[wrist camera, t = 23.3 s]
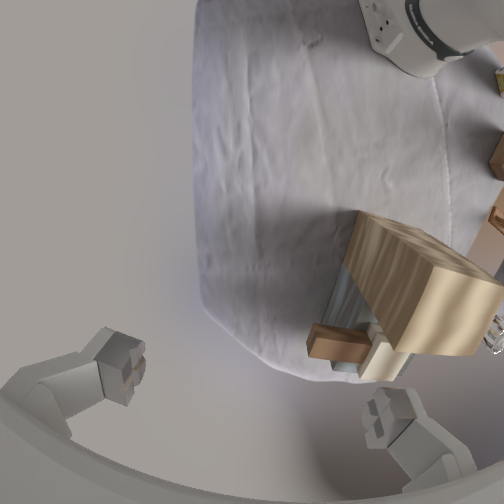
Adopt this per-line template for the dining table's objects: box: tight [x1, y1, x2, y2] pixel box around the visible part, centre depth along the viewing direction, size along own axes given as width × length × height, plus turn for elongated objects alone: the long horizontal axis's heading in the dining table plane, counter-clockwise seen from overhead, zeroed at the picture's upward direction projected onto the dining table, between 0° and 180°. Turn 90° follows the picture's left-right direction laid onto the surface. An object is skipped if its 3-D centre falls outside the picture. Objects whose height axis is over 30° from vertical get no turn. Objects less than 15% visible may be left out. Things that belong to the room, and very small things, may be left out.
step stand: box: [321, 210, 504, 376], centre depth 38 cm, size 14×24×26 cm, turn 168°
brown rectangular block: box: [306, 322, 410, 381], centre depth 36 cm, size 14×7×5 cm, turn 78°
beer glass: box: [482, 315, 504, 354], centre depth 45 cm, size 7×7×15 cm
